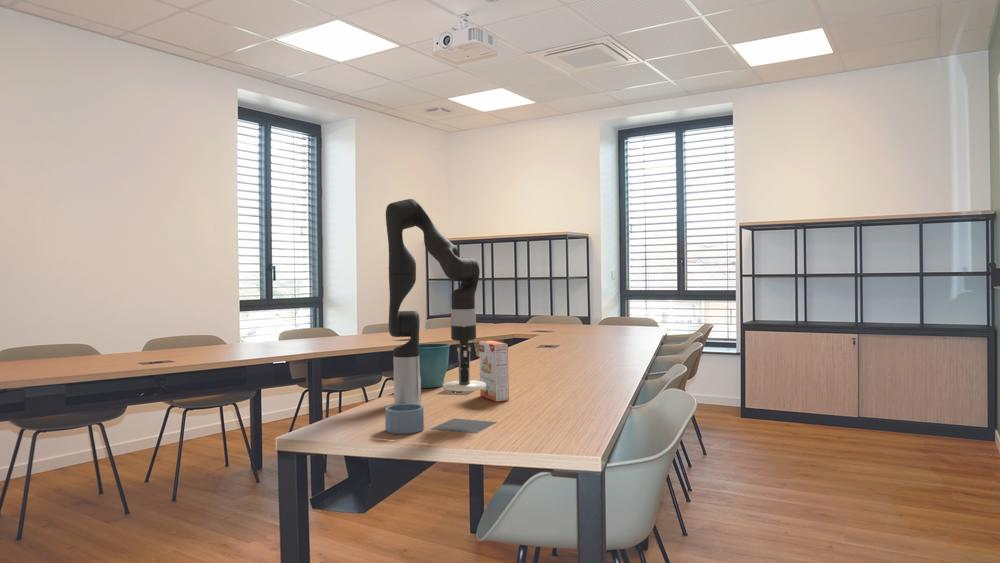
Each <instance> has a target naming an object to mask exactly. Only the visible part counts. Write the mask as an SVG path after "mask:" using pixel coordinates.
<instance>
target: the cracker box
mask: <svg viewBox="0 0 1000 563" xmlns="http://www.w3.org/2000/svg"><path fill="white" fill-rule="evenodd" d="M478 345H479V346H478V350H479V351H478V352H479V381H482V382H485V383H486V388H484V389H481V390H479V392H480V394H479V395H480V397H483V398H485V399H488V400H490V401H492V402H495V403H499V402H507V401H510V392H509V391H510V386H509V382H510V381H509V380H510V379H509V378H510V377H509V344H508V343H504V342H500V341H496V340H480V341H478Z"/></svg>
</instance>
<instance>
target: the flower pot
mask: <svg viewBox="0 0 1000 563" xmlns="http://www.w3.org/2000/svg"><path fill="white" fill-rule="evenodd" d="M450 346H451V345H450V344H448V343H439V342H437V343H435V342H434V343H419V364H420V377H421V389H431V388H432V389H433V388H440V387H443V384H444V383H445V377H446V374H447V371H448V367H449V359H450Z"/></svg>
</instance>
